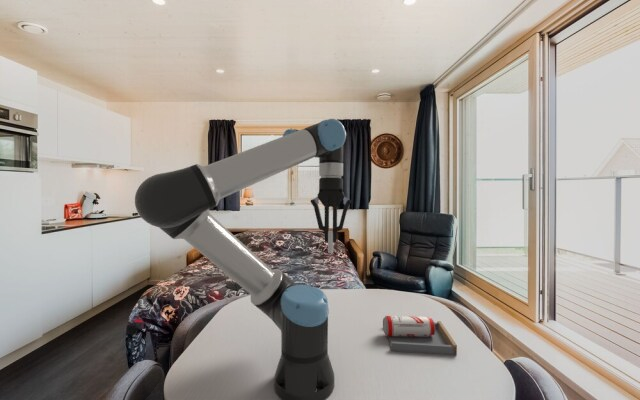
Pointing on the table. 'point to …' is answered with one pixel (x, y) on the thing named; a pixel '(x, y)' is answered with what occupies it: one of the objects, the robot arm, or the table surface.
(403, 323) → the beer can
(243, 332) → the table surface
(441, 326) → the tray
